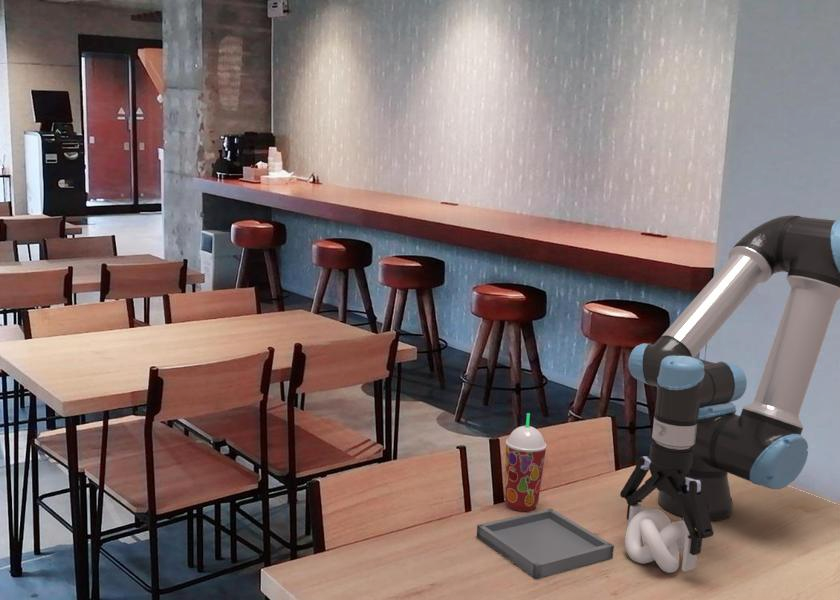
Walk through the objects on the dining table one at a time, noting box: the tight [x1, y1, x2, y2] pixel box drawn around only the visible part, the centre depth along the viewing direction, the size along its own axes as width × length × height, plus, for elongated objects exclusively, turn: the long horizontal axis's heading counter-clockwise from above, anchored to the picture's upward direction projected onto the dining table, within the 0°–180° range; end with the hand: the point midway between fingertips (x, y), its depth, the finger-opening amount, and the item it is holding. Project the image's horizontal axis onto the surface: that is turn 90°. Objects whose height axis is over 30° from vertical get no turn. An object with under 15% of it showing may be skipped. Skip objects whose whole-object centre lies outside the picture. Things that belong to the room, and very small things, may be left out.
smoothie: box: [504, 412, 548, 512], centre depth 186 cm, size 8×8×20 cm
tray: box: [476, 508, 615, 580], centre depth 169 cm, size 18×18×2 cm
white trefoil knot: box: [624, 507, 689, 574], centre depth 165 cm, size 11×12×9 cm
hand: (659, 553), depth 166 cm, fingers open, 13 cm apart
